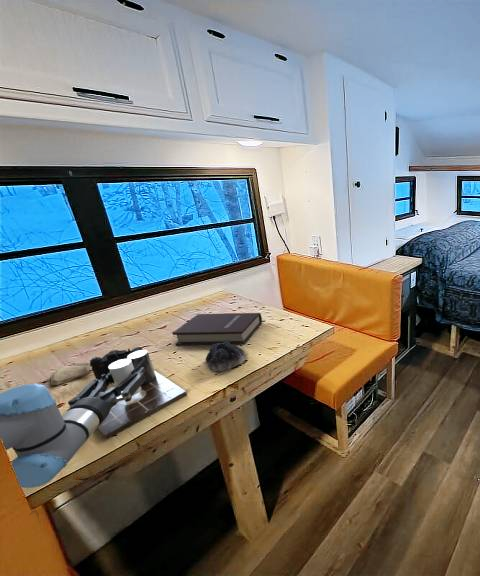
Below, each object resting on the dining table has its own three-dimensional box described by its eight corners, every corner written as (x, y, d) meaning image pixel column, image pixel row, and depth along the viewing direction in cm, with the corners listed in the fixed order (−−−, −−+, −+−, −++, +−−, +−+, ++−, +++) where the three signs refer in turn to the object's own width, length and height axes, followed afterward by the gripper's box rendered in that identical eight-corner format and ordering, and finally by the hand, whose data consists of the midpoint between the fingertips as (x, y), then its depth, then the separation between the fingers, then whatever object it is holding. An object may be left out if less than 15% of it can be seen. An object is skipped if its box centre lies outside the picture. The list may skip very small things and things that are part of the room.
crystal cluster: (223, 352, 119) (215, 331, 115) (254, 352, 117) (247, 330, 113) (200, 375, 107) (189, 352, 103) (234, 375, 105) (224, 352, 101)
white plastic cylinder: (116, 394, 91) (105, 365, 87) (137, 384, 95) (127, 356, 91) (123, 400, 88) (112, 371, 84) (144, 389, 92) (134, 361, 89)
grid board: (78, 408, 90) (76, 404, 90) (154, 373, 106) (153, 369, 106) (107, 439, 79) (105, 434, 79) (187, 395, 95) (186, 390, 94)
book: (262, 322, 142) (260, 311, 139) (244, 344, 123) (241, 331, 121) (203, 324, 142) (200, 312, 140) (176, 345, 124) (172, 332, 122)
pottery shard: (52, 391, 100) (88, 375, 104) (43, 381, 99) (80, 365, 102) (66, 375, 109) (98, 361, 113) (57, 366, 108) (91, 352, 111)
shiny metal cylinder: (133, 382, 99) (124, 355, 96) (152, 373, 103) (143, 348, 100) (140, 387, 96) (131, 360, 93) (159, 378, 101) (150, 352, 97)
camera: (150, 358, 115) (142, 335, 112) (149, 372, 107) (140, 347, 103) (102, 371, 108) (92, 347, 104) (97, 387, 99) (85, 361, 96)
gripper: (43, 439, 72) (104, 379, 94) (130, 424, 76) (170, 370, 97) (29, 414, 70) (95, 359, 91) (120, 400, 73) (163, 350, 95)
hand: (133, 365), depth 94 cm, fingers closed on white plastic cylinder, 5 cm apart
